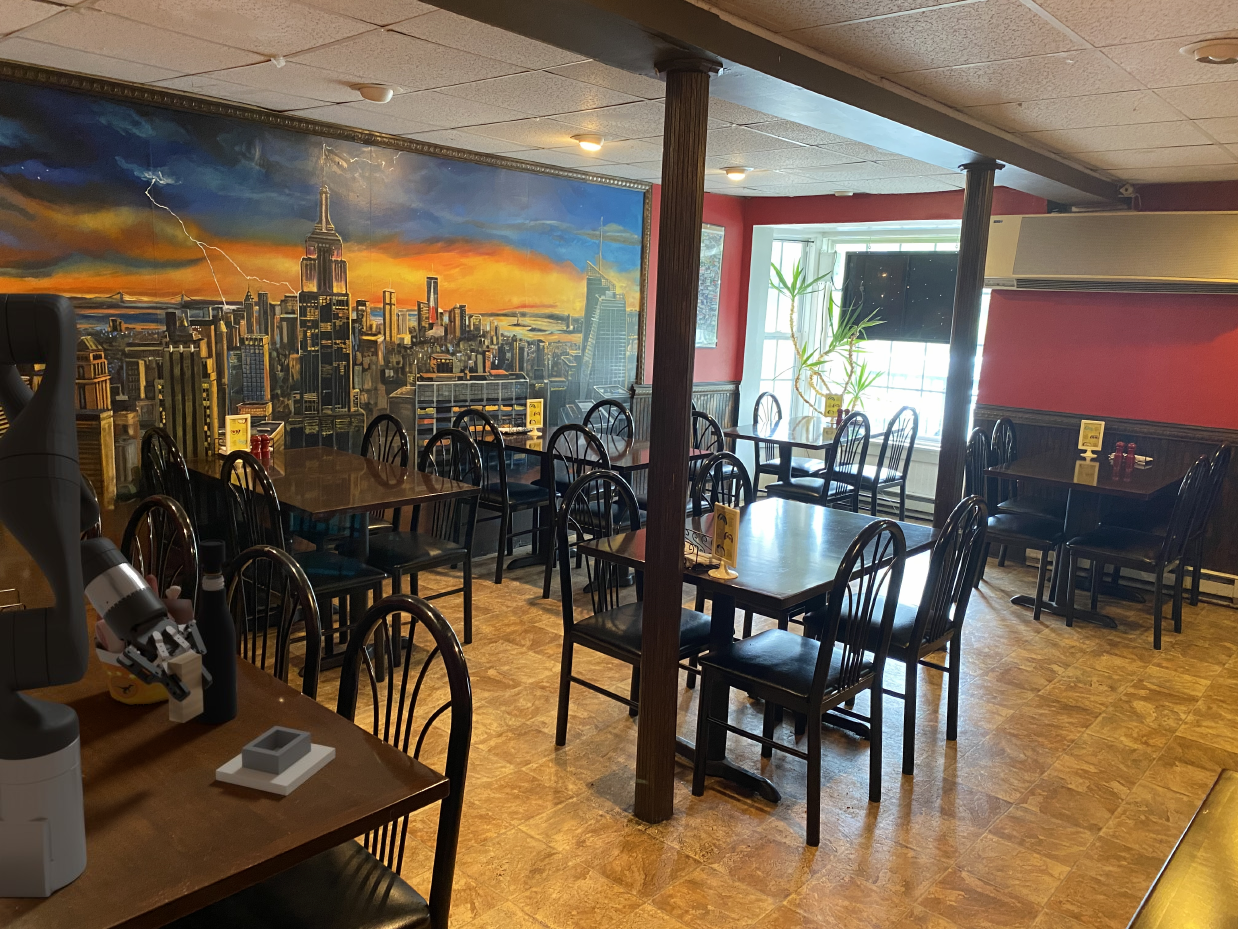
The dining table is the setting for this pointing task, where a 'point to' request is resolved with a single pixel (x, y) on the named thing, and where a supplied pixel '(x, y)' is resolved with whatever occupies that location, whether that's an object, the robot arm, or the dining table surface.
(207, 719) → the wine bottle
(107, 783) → the dining table surface
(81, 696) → the dining table surface
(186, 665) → the slat
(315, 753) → the socket base
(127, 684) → the bucket of meat
